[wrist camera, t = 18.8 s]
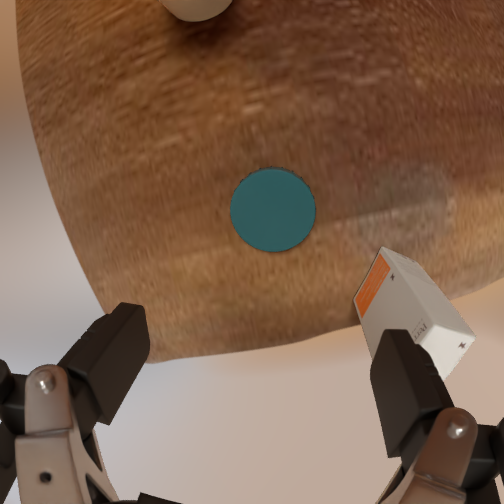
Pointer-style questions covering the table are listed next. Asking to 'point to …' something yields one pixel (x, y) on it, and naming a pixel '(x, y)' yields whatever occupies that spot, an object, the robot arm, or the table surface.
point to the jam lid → (272, 209)
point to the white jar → (195, 8)
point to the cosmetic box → (411, 310)
